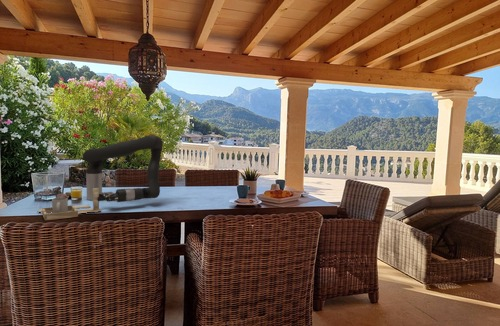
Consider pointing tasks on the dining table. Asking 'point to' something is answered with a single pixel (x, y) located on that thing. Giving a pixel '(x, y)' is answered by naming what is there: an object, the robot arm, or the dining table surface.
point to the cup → (59, 205)
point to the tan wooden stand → (72, 209)
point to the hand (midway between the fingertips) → (95, 197)
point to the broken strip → (75, 207)
